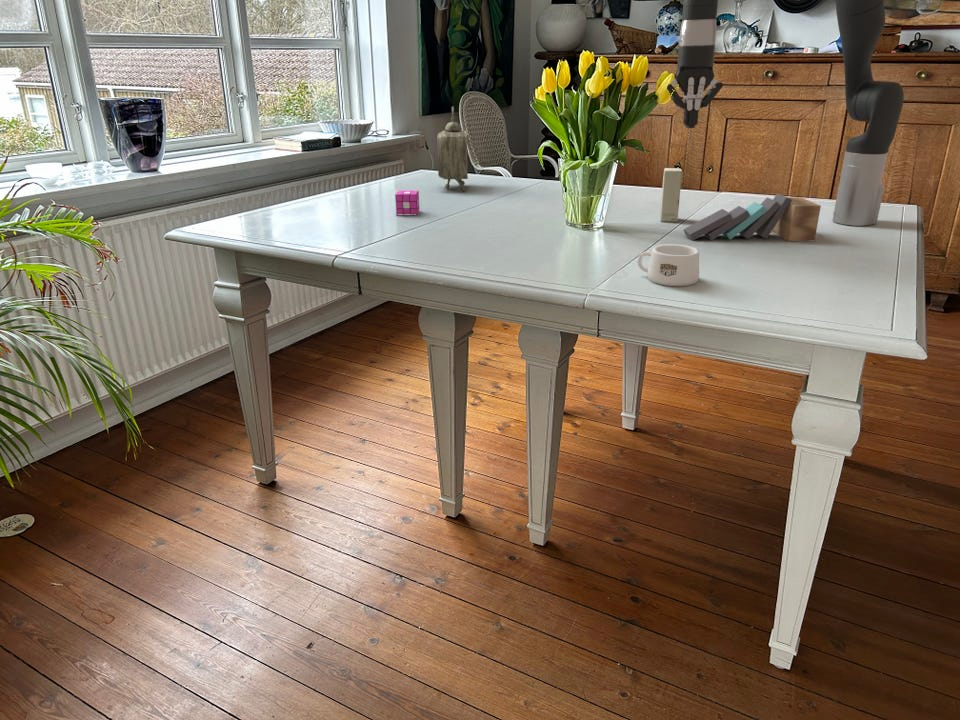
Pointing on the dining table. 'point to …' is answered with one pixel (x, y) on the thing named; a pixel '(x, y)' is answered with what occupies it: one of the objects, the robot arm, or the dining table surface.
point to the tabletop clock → (452, 153)
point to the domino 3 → (746, 220)
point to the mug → (672, 265)
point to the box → (670, 194)
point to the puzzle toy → (407, 202)
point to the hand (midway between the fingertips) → (690, 127)
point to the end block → (798, 220)
